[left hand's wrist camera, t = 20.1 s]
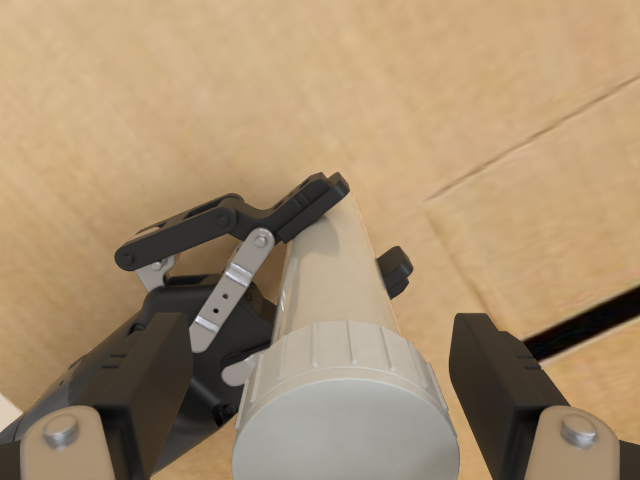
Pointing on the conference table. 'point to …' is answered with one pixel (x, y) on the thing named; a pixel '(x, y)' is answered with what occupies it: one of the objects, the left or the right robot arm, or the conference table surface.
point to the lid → (343, 410)
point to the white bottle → (332, 275)
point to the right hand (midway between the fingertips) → (374, 220)
